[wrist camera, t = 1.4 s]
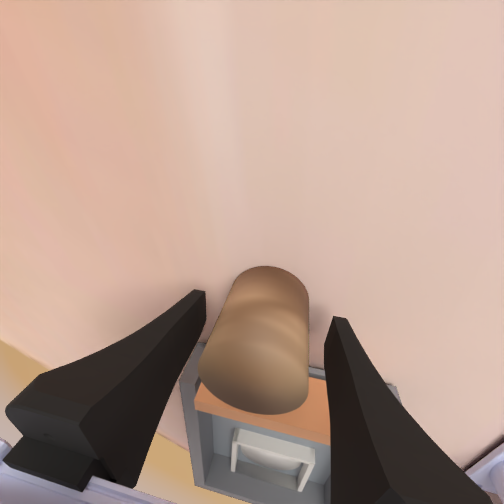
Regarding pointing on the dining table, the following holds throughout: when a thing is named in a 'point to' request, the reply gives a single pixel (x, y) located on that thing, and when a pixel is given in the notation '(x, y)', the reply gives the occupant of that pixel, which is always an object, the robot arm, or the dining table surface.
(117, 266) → the dining table surface
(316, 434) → the gate
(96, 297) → the dining table surface
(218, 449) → the housing
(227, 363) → the brown rounded block
